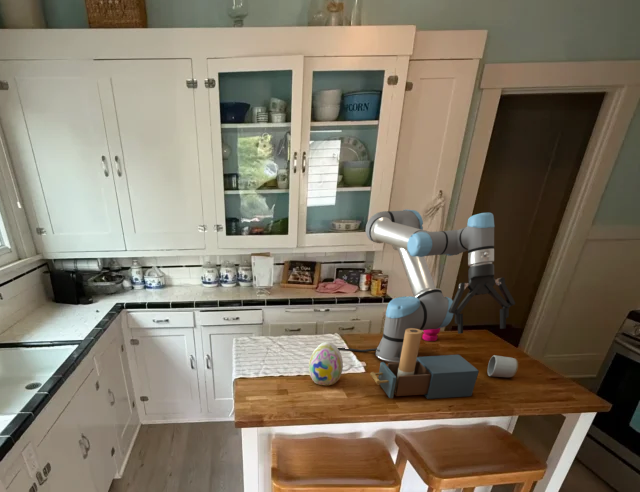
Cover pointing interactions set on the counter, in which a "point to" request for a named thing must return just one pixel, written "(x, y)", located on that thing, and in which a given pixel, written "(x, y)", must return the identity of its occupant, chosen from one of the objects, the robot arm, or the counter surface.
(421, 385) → the drawer
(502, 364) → the ceramic mug
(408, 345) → the paper roll
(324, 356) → the decorative egg
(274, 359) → the counter surface
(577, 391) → the counter surface
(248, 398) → the counter surface
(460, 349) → the counter surface
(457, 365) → the cabinet
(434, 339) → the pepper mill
